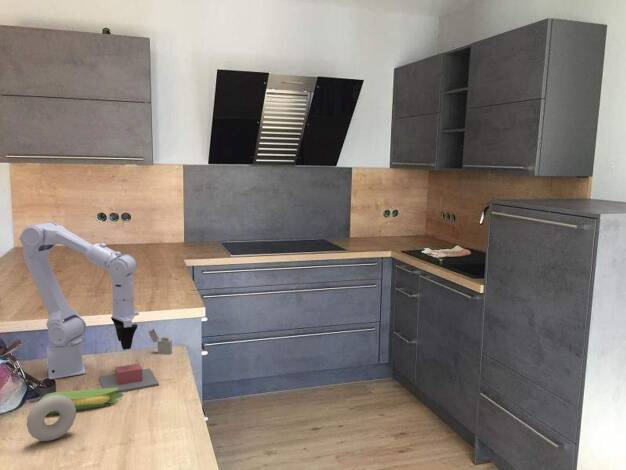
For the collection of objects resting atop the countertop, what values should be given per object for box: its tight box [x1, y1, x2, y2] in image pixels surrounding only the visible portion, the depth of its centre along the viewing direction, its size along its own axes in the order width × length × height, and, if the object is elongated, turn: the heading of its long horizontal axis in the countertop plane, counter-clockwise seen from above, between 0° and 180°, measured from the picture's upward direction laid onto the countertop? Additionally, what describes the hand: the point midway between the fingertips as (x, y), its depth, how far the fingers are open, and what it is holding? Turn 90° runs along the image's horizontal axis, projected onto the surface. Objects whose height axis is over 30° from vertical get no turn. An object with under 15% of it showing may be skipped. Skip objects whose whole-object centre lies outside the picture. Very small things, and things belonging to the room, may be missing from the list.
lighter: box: [148, 327, 173, 355], centre depth 166 cm, size 7×2×8 cm, turn 88°
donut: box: [26, 395, 77, 442], centre depth 113 cm, size 10×4×10 cm, turn 134°
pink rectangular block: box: [114, 363, 143, 385], centre depth 143 cm, size 4×6×4 cm
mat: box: [98, 367, 160, 393], centre depth 144 cm, size 14×12×1 cm
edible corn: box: [39, 387, 124, 416], centre depth 128 cm, size 5×20×5 cm
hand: (124, 344), depth 147 cm, fingers open, 7 cm apart
